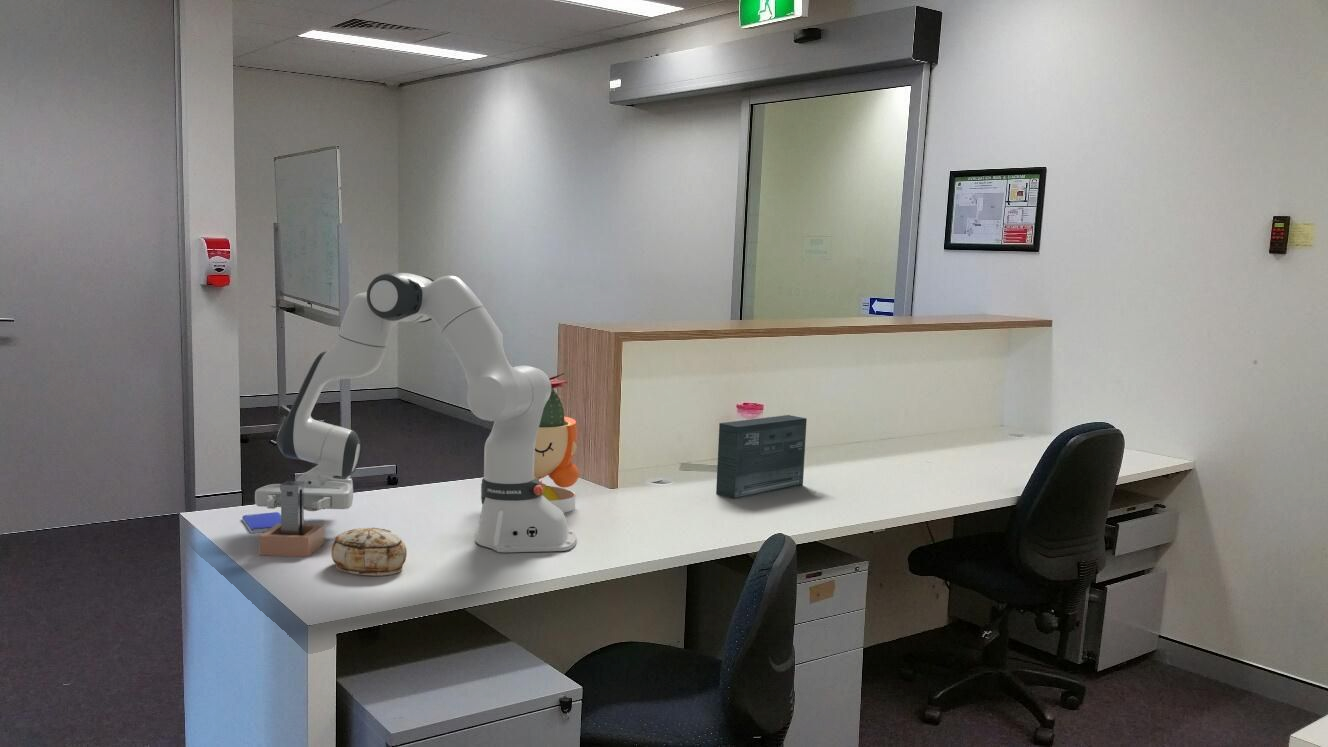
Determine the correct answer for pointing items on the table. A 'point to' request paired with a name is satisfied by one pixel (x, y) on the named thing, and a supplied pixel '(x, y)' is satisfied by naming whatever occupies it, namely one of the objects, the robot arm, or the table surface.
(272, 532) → the holder
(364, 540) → the trinket box
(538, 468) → the potted cactus
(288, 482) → the grey chimney stack
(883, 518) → the table surface
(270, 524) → the hard drive
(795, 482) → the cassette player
